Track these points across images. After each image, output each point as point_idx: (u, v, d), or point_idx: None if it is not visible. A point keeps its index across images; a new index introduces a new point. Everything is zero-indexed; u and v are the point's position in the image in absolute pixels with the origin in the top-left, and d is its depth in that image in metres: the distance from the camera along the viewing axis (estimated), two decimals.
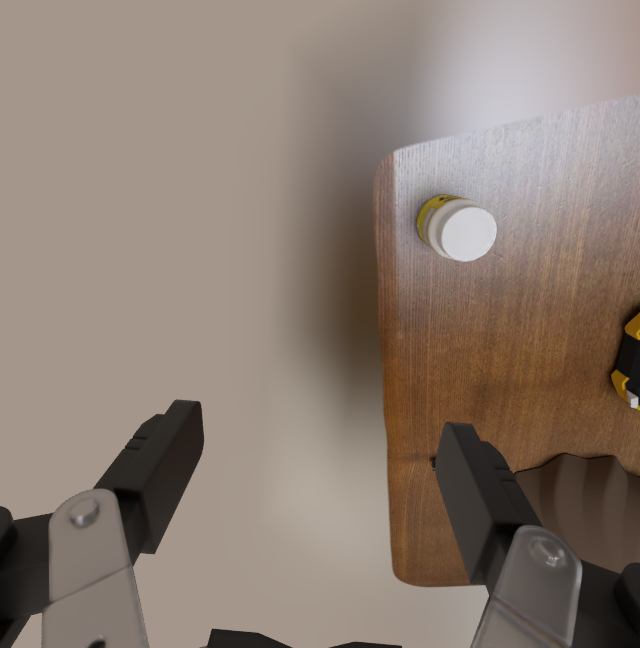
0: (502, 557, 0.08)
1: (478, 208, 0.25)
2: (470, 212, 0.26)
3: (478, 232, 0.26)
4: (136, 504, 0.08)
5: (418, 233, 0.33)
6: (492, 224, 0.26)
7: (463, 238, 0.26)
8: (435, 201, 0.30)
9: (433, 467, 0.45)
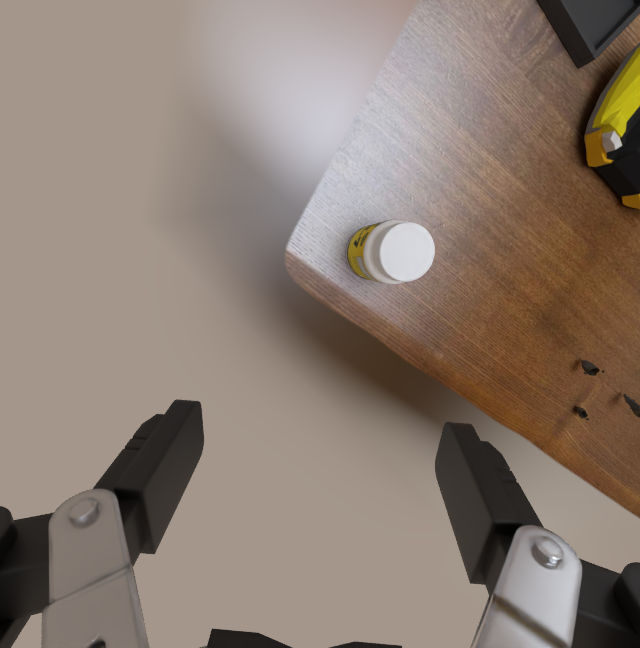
0: (502, 557, 0.08)
1: (392, 229, 0.24)
2: (390, 238, 0.24)
3: (412, 242, 0.24)
4: (136, 504, 0.08)
5: None
6: (415, 227, 0.24)
7: (406, 259, 0.24)
8: (353, 249, 0.29)
9: (584, 417, 0.39)
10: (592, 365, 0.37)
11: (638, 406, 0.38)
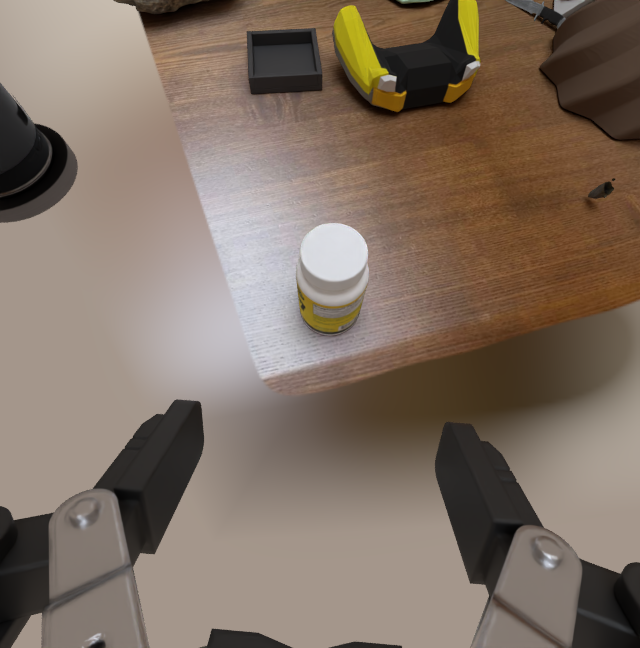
0: (502, 557, 0.08)
1: (301, 249, 0.21)
2: (307, 256, 0.20)
3: (328, 241, 0.21)
4: (136, 504, 0.08)
5: (348, 325, 0.27)
6: (316, 230, 0.21)
7: (339, 255, 0.21)
8: (307, 313, 0.25)
9: None
10: (599, 186, 0.31)
11: None
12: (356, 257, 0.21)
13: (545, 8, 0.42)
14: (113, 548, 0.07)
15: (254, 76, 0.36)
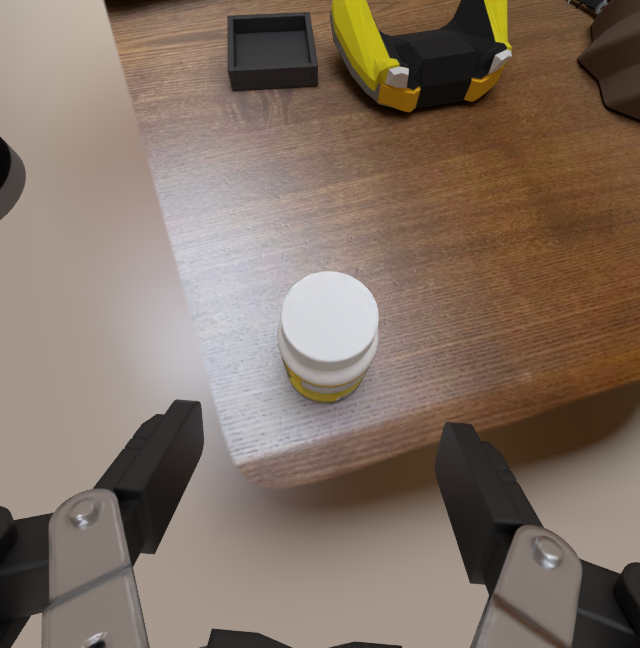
0: (502, 557, 0.08)
1: (282, 312, 0.14)
2: (290, 323, 0.14)
3: (321, 299, 0.15)
4: (136, 504, 0.08)
5: (349, 394, 0.20)
6: (304, 282, 0.15)
7: (337, 321, 0.14)
8: (294, 382, 0.19)
9: None
10: None
11: None
12: (362, 324, 0.14)
13: None
14: (113, 548, 0.07)
15: (235, 69, 0.30)
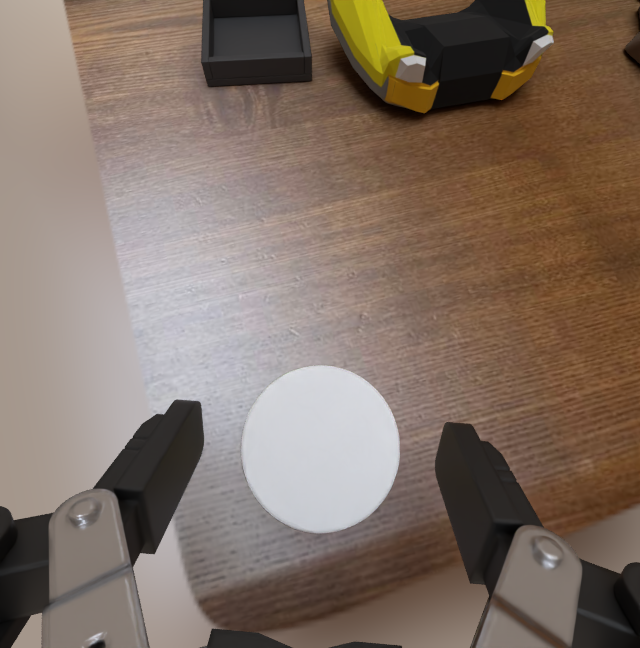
0: (502, 557, 0.08)
1: (243, 439, 0.09)
2: (256, 460, 0.09)
3: (307, 416, 0.09)
4: (136, 504, 0.08)
5: None
6: (281, 386, 0.09)
7: (333, 456, 0.09)
8: None
9: None
10: None
11: None
12: (373, 461, 0.09)
13: None
14: (113, 548, 0.07)
15: (210, 59, 0.24)
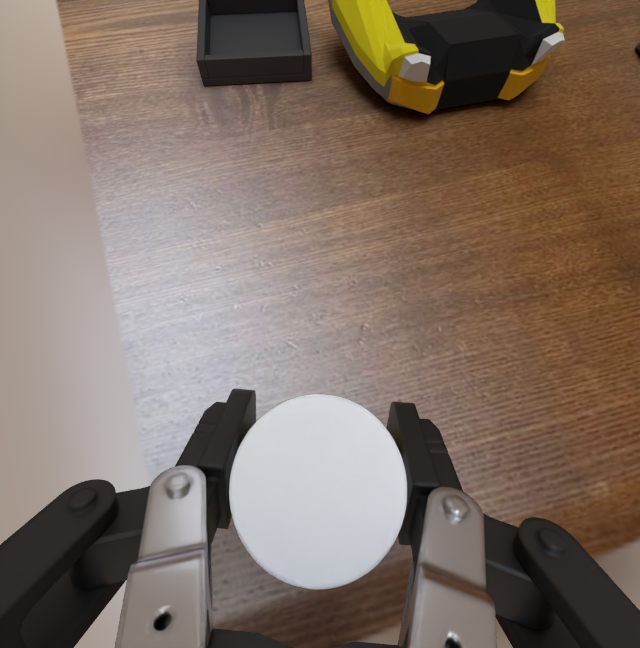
0: (420, 516, 0.09)
1: (232, 479, 0.08)
2: (246, 504, 0.08)
3: (304, 453, 0.08)
4: (216, 481, 0.09)
5: None
6: (275, 418, 0.08)
7: (333, 499, 0.08)
8: None
9: None
10: None
11: None
12: (377, 504, 0.08)
13: None
14: (195, 526, 0.07)
15: (205, 58, 0.23)
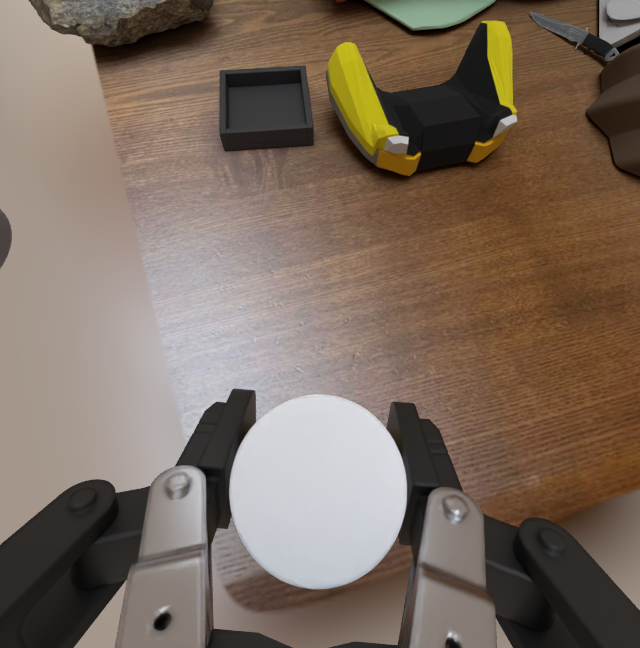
0: (420, 516, 0.09)
1: (232, 479, 0.08)
2: (246, 504, 0.08)
3: (304, 453, 0.08)
4: (216, 481, 0.09)
5: None
6: (275, 418, 0.08)
7: (332, 499, 0.08)
8: None
9: None
10: None
11: None
12: (377, 505, 0.08)
13: (590, 35, 0.34)
14: (194, 526, 0.07)
15: (227, 131, 0.28)
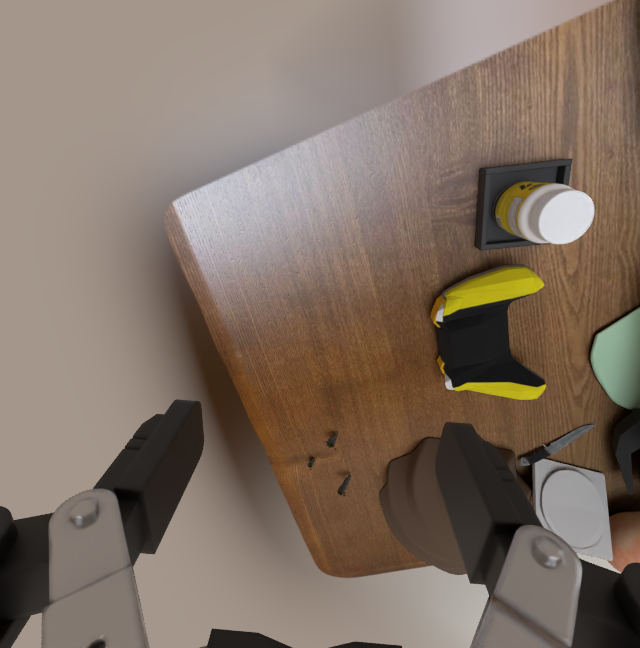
0: (502, 557, 0.08)
1: (574, 191, 0.26)
2: (566, 196, 0.26)
3: (576, 213, 0.27)
4: (136, 504, 0.08)
5: (498, 223, 0.34)
6: (589, 203, 0.26)
7: (561, 222, 0.27)
8: (516, 190, 0.31)
9: None
10: (334, 440, 0.45)
11: (344, 487, 0.47)
12: (556, 235, 0.27)
13: (547, 454, 0.45)
14: (113, 548, 0.07)
15: (487, 175, 0.33)
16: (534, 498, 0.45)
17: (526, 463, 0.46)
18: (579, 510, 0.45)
